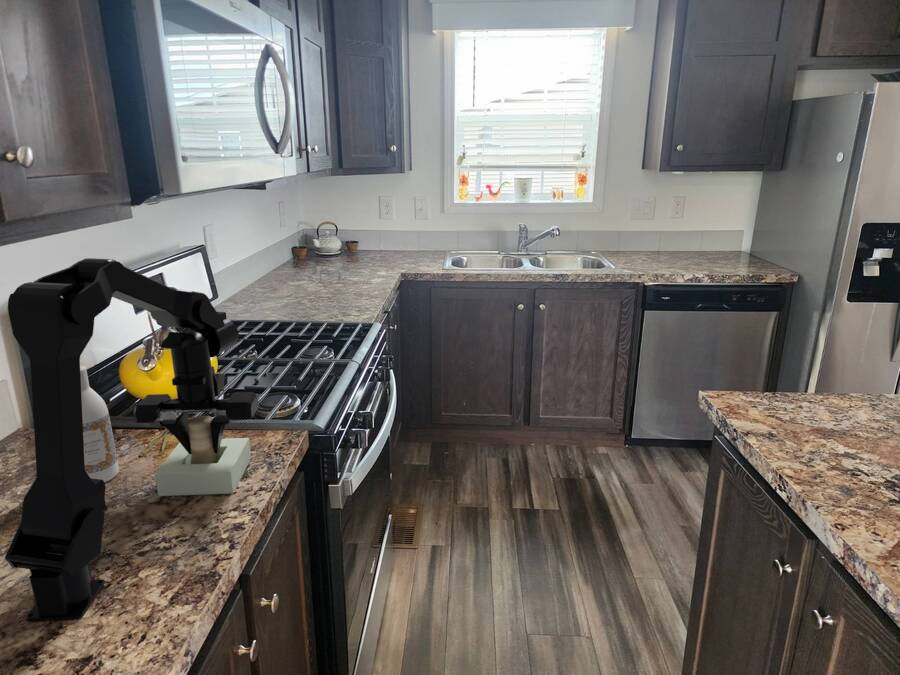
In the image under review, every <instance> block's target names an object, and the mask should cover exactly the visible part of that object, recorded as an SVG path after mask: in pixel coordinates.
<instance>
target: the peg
mask: <svg viewBox="0 0 900 675" xmlns="http://www.w3.org/2000/svg"><path fill="white" fill-rule="evenodd" d="M212 419H213V417H212V416H210V415H198V416H195V417H191V418H190V419H188V421H187V426H188V433H189V440H190V447H191V453H192V460H193V464H211V463H218V456H217V453H215V452H214V449H213V443H212V435H211V427H210V422H211V421H212Z"/></svg>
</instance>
